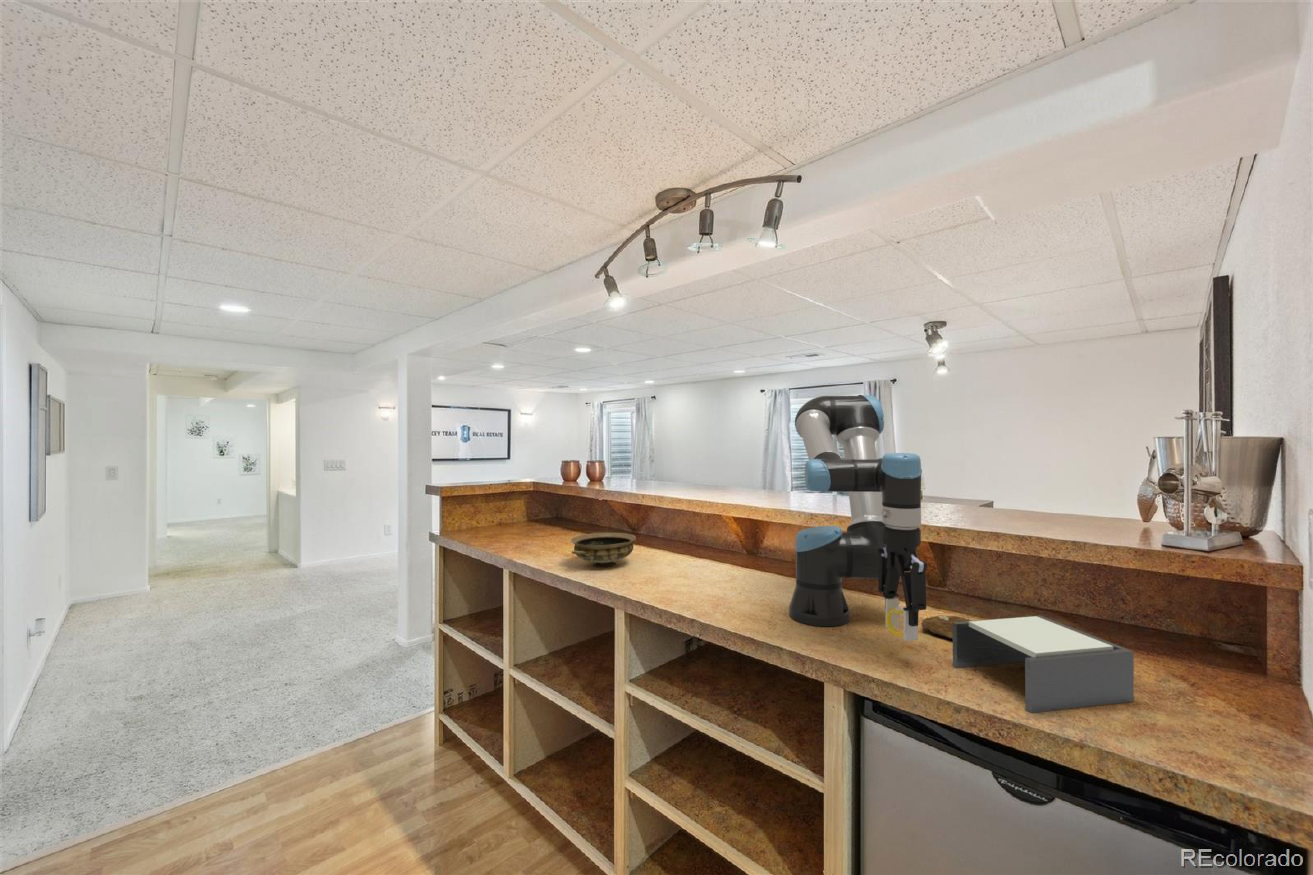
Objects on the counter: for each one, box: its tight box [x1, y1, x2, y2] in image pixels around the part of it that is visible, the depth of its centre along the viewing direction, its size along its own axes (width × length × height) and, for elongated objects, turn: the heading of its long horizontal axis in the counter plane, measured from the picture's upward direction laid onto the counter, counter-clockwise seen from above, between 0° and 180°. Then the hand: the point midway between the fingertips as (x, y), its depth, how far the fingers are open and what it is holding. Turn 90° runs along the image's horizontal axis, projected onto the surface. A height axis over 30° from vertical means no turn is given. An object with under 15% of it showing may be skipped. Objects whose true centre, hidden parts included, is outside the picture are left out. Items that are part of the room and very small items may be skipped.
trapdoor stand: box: [952, 615, 1135, 714], centre depth 103 cm, size 19×21×9 cm
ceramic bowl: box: [570, 532, 637, 568], centre depth 198 cm, size 30×24×10 cm
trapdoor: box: [969, 615, 1113, 657], centre depth 103 cm, size 16×16×1 cm
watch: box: [886, 605, 906, 638], centre depth 114 cm, size 6×3×6 cm, turn 40°
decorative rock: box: [921, 615, 974, 640], centre depth 127 cm, size 11×4×15 cm
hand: (900, 633), depth 114 cm, fingers closed on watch, 6 cm apart
